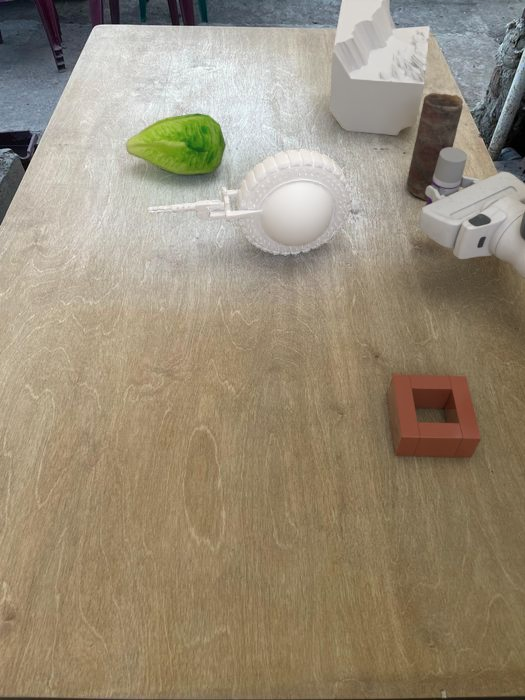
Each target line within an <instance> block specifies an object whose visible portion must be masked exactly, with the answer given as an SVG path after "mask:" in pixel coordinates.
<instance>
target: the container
mask: <svg viewBox="0 0 525 700" xmlns="http://www.w3.org/2000/svg"><path fill="white" fill-rule="evenodd" d="M467 160H468V154H467V152H466V151H465V150H463V149H461V148H459V147H454V146H453V147H447V148H444V149H442V150H441V151H440V154H439V158H438V161H437V165H436V168H435V172H434V175H433V179H432V183H431V185H432V184H435V185H436V186H438V187H440V191H439V194H440V196H441V195H444V196H446V197H447V196H449V195H451V194H453V193H456V192H458V191H460V190H459V189H460V188H461V187H460V183H461V179H462V175H464V171H465V166H466V164H467V163H466V162H467ZM431 203H432V199H431V198H429V197H428V199H427V200H426V203H425V206H427V205H429V204H431Z"/></svg>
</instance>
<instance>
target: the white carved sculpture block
mask: <svg viewBox="0 0 525 700" xmlns="http://www.w3.org/2000/svg"><path fill="white" fill-rule="evenodd" d="M390 3H391V2H390V0H341V3H340V8H339V9H340V10H339V15H338V21H337V27H336V31H335V38H334V43H333V50H332V58H331V59H332V60H331V63H332V64H331V73H330V74H331V75H330V91H329V108H328V110H329V111H330V113H331V114H332V115H333V117H334V118H335V120H336V121H337V123H338V124H339V125H340V127H341V128H342V130H343V129H344V130H345V131H346V132H355V133H367V134H378V135H379V134H380V135H387V136H399V134H400V132H401V131H402V130H405V129H406V128H408V127H409V128H411V127H415V126H416V125H417V120H418V117H419V112H420V107H421V102H422V97H423V93H424V90H425V89H424V88H425V84H426V83H425V79H426V71H427V62H428V61H427V58H428V53H429V51H428V50H429V40H430V32H431V30H430V29H431V26H428V25H427V26H426V25H424V26H412V27H411V26H410V27H399V28H397V27H396V25H395V23H394V20H393V17H392V14H391V11H390V10H391V7H390V6H391V5H390Z"/></svg>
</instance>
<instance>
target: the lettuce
mask: <svg viewBox="0 0 525 700" xmlns="http://www.w3.org/2000/svg"><path fill="white" fill-rule="evenodd" d="M125 149H126V152H127V153H128V154H129V155H130V156H134V157H136V158H139V159H142V160H143V161H145V162H148V164H149V163H150V164H152V165H155V166H156V167H158V168H160V169H163V170H164V171H166V172H169V173H172V174H175V175H190V176H200V175H201V176H202V175H206V174H207V175H208V174H211V173H213V172H214V171H215V170H216V169H217V168H218V167H219V166H221V165H222V161H223V157H224V153H225V150H226V140H225V138H224V133H223V130H222V127H221V124H220V123H219V122H217V121H216V120H215V119H214V118H213V117H212V116H210V115H209V114H204V113H199V112H198V113H190V114H184V115H177V116H176V115H175V116H170V117H166V118H162V119H160V120H157V121H155V122H154V123H151V124H149V125H148V126H146V127H145V128H144V129H142V130H141V131H140V132H138V133H137V134H135V135H133V136H132V137H130V138H129V139H128V140H127V141H126V142H125Z"/></svg>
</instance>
